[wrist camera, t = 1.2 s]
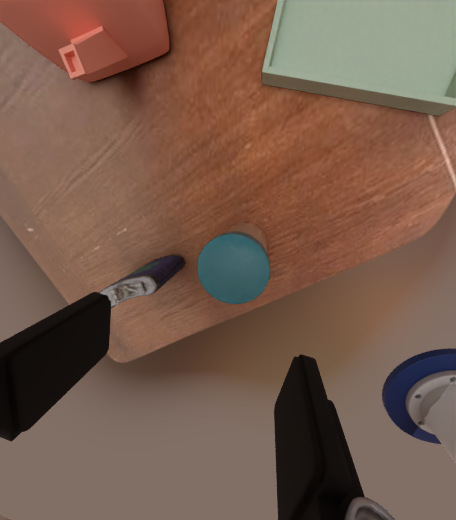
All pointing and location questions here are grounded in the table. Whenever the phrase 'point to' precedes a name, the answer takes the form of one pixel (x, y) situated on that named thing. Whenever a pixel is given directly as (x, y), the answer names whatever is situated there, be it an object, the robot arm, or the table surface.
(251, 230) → the jar
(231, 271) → the lid
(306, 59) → the tray
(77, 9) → the teapot
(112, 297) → the flask
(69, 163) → the table surface
